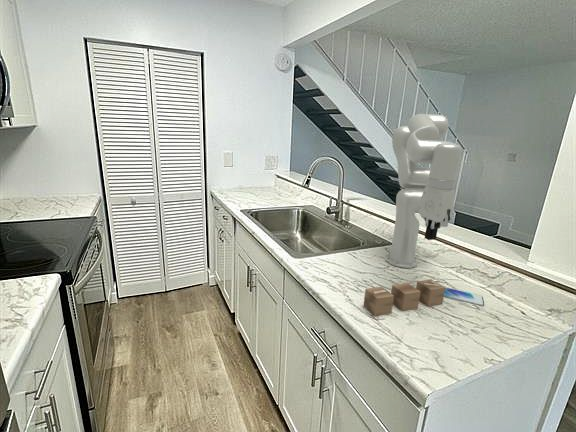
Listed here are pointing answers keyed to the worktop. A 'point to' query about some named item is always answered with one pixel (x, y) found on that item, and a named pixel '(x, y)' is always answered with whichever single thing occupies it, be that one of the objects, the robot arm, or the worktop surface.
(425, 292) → the block seven
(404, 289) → the plain block
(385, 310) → the block one
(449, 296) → the smartphone
